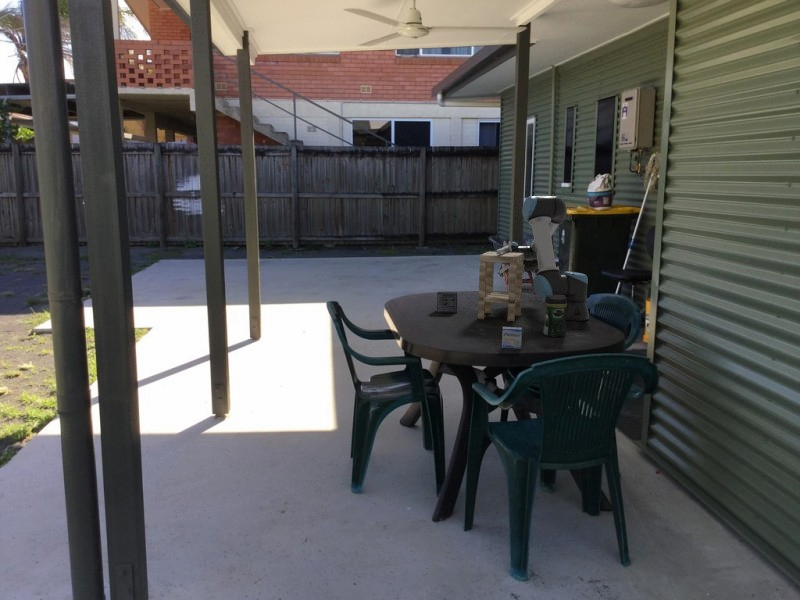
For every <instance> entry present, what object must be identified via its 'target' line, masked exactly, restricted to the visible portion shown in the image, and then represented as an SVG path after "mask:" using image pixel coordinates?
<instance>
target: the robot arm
mask: <svg viewBox="0 0 800 600" xmlns="http://www.w3.org/2000/svg"><path fill="white" fill-rule="evenodd" d="M567 208H568V207H567V205H566V203H565V201H564V200H563V199H562V198H561V197H559V196H555V195H549V196H548V195H542V196H541V195H533V196H528V197H526V198H525V200H524V202H523V205H522V210H521V213H522V217H523V219H525V220H527V222H528V225H529V226H531V227H532V228H531V229H532V234H533V240H532V242H531V244H529V245H527V246H526V245H524V246H523V245H519V243H518V242H517V241H510V240H509V241H508V243H507V241H506V240H503V244H502V246H500V249H501V248H503V247H506V246H509V249H510V250H509V251H507V252H509V253H524V255H523V260H536V261H537V267H538V271H537V272H536V276H534V278H533V290H534V292H535V294H536V296H537V297H538V298H540V299H545V298H546V295H564V296H566V298H567V306H566V309H565V321H574V322H576V321H578V322H580V321H582V322H583V321H587V320H589V318H590V313H589V310H588V305H587V298H588V297H587V294H588V284H589V282H588V276H587V274H584V273H581V272H575V271H564V272H563V274H561V270H560V269H559V268H557V266H556V265H557V264H556V259H555V258H556V257H555V252H554V247H553V240H552V236H553V235H554V233H555V232H556V230H557V228H558V226H559V225H561V224H563V222H564V221H565V219H566V217H567V213H568V212H567V211H568V210H567ZM506 264H507V266H508V269H509V270H510V263H506ZM524 275H525V267H524V266H523V276H524Z"/></svg>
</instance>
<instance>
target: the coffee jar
mask: <svg viewBox="0 0 800 600" xmlns="http://www.w3.org/2000/svg"><path fill="white" fill-rule="evenodd" d="M544 299H545V300H544V306H545V317H544V323H543V324H544V325H543V330H542V331H543V335H544V336H546V337H550V336H552V337H553V338H558V336H561V337H565V336H566V333H567V330H566V320H565V309H566V306H567V298H566V296H564V295H546V298H544ZM556 336H557V337H556ZM552 337H551V338H552Z"/></svg>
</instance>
